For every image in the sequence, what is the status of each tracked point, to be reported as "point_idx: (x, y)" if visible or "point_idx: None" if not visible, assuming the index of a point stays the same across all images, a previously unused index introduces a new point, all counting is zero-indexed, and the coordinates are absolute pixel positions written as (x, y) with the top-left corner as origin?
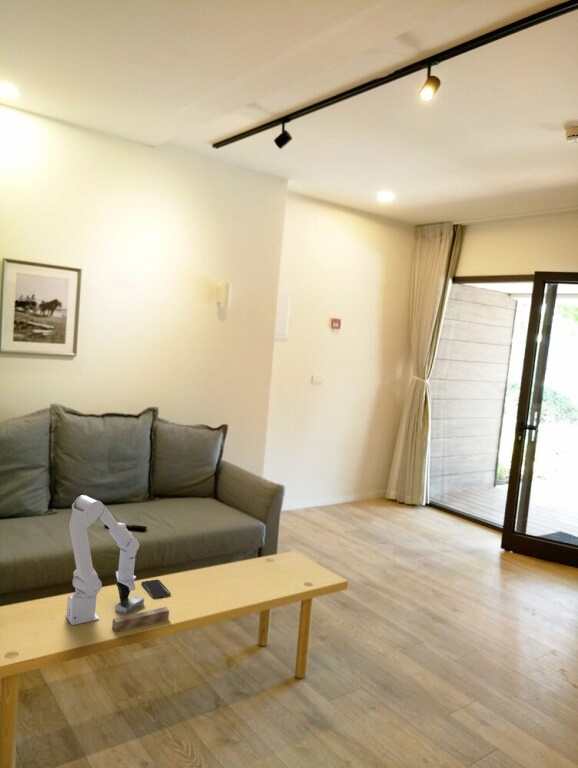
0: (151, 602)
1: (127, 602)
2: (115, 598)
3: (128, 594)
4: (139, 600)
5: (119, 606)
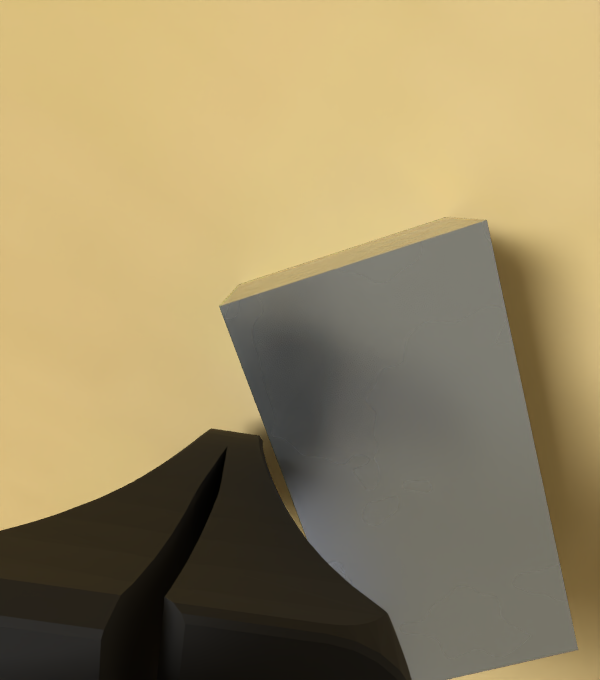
0: (459, 42)
1: (422, 548)
2: (28, 450)
3: (275, 501)
4: (499, 350)
5: (436, 669)
